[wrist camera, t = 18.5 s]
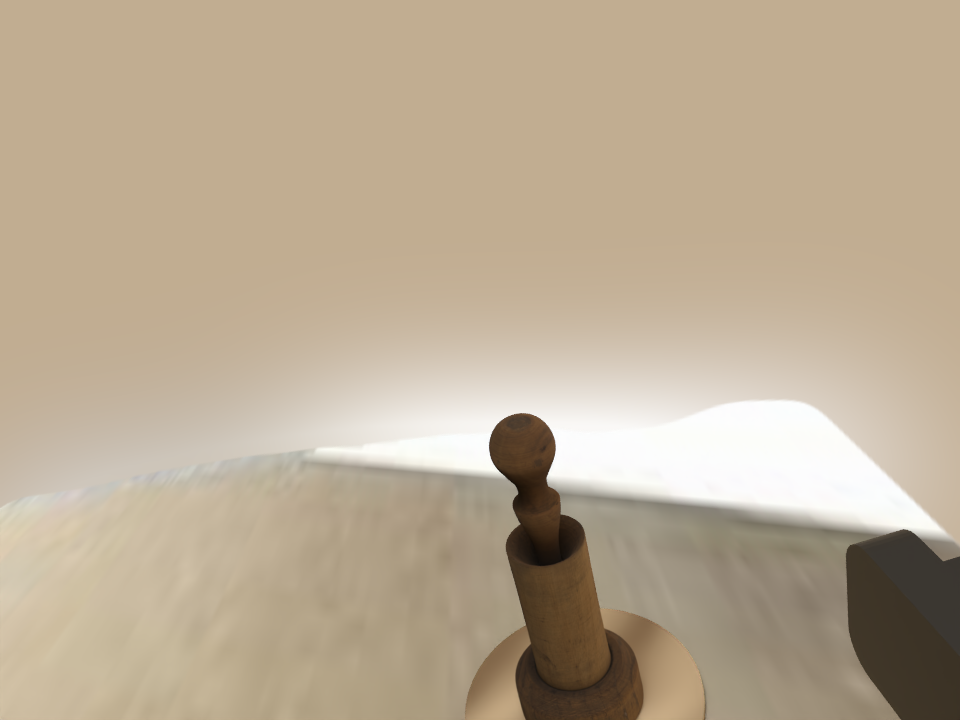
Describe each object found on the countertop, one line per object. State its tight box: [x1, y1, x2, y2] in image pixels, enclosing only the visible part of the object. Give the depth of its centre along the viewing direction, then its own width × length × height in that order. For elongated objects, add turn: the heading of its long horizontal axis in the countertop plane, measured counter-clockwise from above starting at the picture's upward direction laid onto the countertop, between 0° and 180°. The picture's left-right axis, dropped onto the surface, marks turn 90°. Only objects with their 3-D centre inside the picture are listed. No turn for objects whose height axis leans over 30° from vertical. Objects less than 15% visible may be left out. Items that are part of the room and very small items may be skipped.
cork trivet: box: [465, 609, 705, 720], centre depth 47 cm, size 13×13×1 cm
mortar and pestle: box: [489, 413, 644, 720], centre depth 43 cm, size 7×6×18 cm
